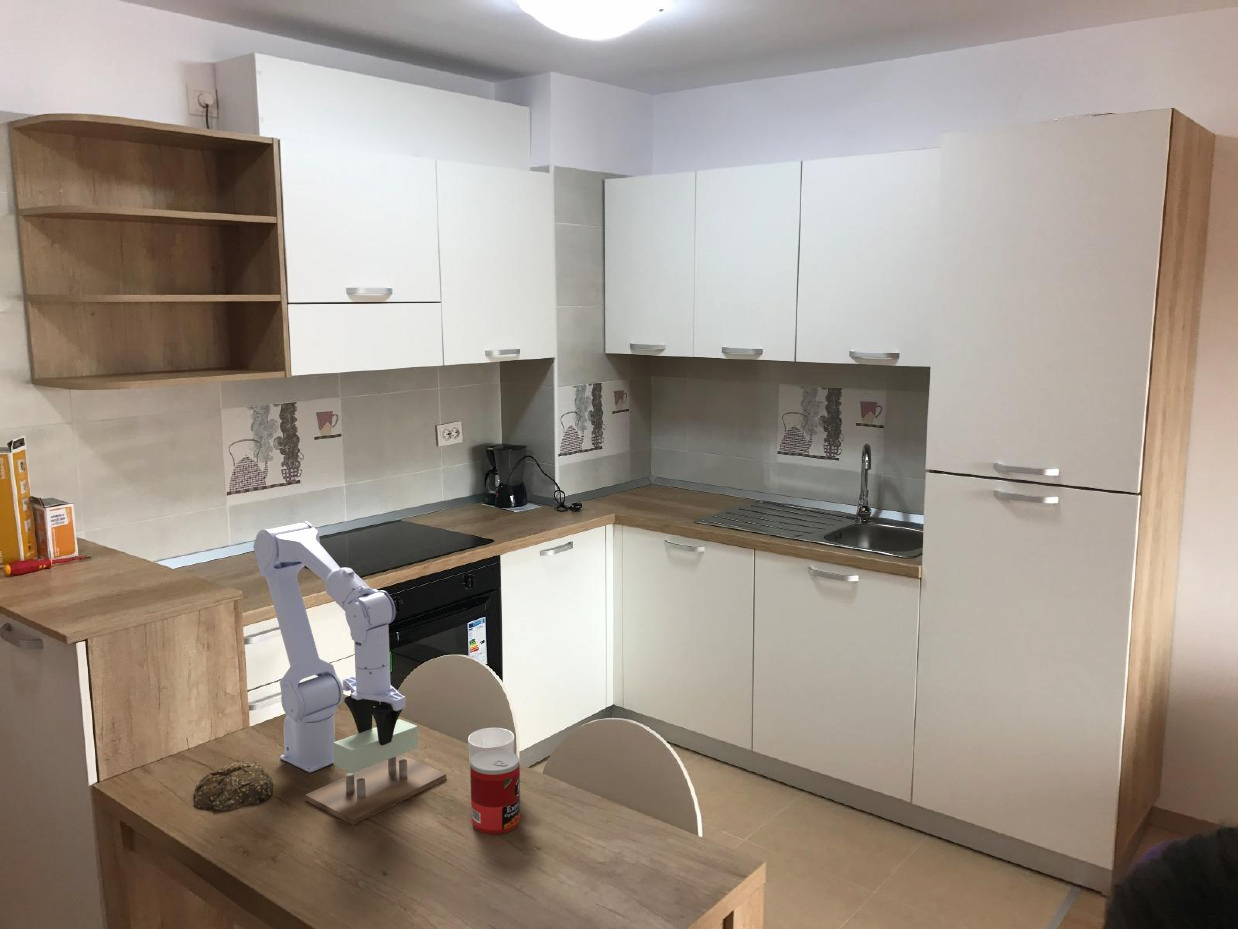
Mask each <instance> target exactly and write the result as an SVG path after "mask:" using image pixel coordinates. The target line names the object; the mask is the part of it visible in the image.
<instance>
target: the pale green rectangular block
mask: <svg viewBox="0 0 1238 929" xmlns="http://www.w3.org/2000/svg"><path fill="white" fill-rule="evenodd" d="M418 729H419V728H418V725H416V724H414V723H411V722H408V721H406V720H403V719H400V718H398V719H397V722H396V725H395V728H394V733H393V737H392V741H391V742H390V743H388V744H385V745H383V746H382V745H380V743H379V740H378V733H377V726H376V727H372V729H370V730H367V731H364V732H361V733H358V732H357V733H356V734H353V735H351V736H347V737H344V738H342V739H339V740H335V742H333V755H334V763H333V766H336V767H337V768H340V769H341V770H343V771H345V772H348V773H356V772H358V771H360V770H362V769H365V768H367V767H370V766H372V765H375V764H377V763H380V762H383V761H385V760H388V759H390V758H393V757H395V756H398V755H404V754H405V753H408V752H411V751H413V750H416V749H418V748H419V745H418V742H419V739H418V738H419V737H418V736H419V730H418Z"/></svg>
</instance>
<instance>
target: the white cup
mask: <svg viewBox="0 0 1238 929" xmlns="http://www.w3.org/2000/svg"><path fill="white" fill-rule="evenodd" d="M467 744H468V757H469V759H468V760H469V764H470V763H471V758H472V757H473V756H474V755H476V754H477V753H480V752H483V751H487V750H506V751H510V752H512V753H515V734H514V732H512V731H511V730H509V729H506V728H502V727H487V728H485V727H484V728H481V729H477V730H475V731H473V732H472V733H470V734H469V735H468V738H467Z"/></svg>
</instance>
